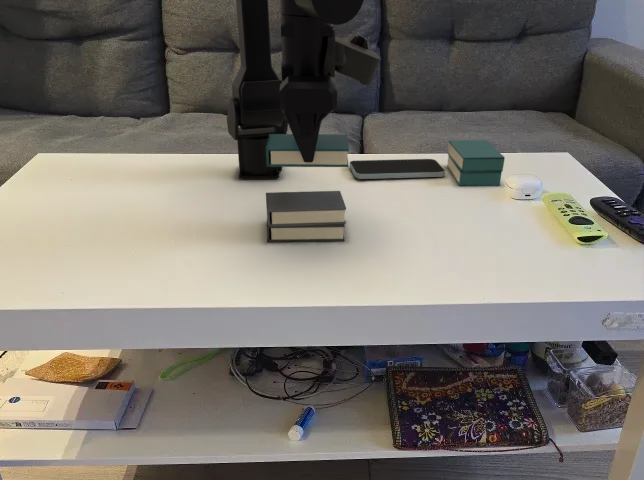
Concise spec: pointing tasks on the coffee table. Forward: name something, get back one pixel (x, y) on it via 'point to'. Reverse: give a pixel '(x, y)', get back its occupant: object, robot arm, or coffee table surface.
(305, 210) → the grey book
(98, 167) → the coffee table surface
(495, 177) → the teal book
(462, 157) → the teal book
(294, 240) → the grey book
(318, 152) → the teal book
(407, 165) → the smartphone
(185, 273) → the coffee table surface
